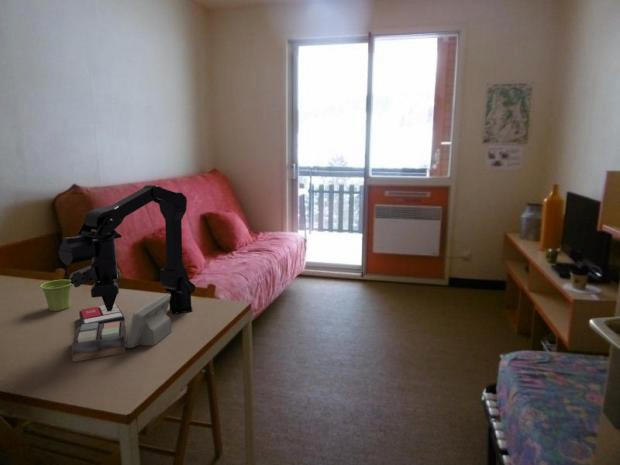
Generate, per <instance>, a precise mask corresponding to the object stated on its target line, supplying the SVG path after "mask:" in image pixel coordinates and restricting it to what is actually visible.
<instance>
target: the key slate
mask: <svg viewBox="0 0 620 465" xmlns="http://www.w3.org/2000/svg"><path fill="white" fill-rule="evenodd" d="M80 327H81V329H80V332H87V331H93V330H96V331H97V332H98V331H99V327H98V322H97V323H90V324H83V325H80Z"/></svg>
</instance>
